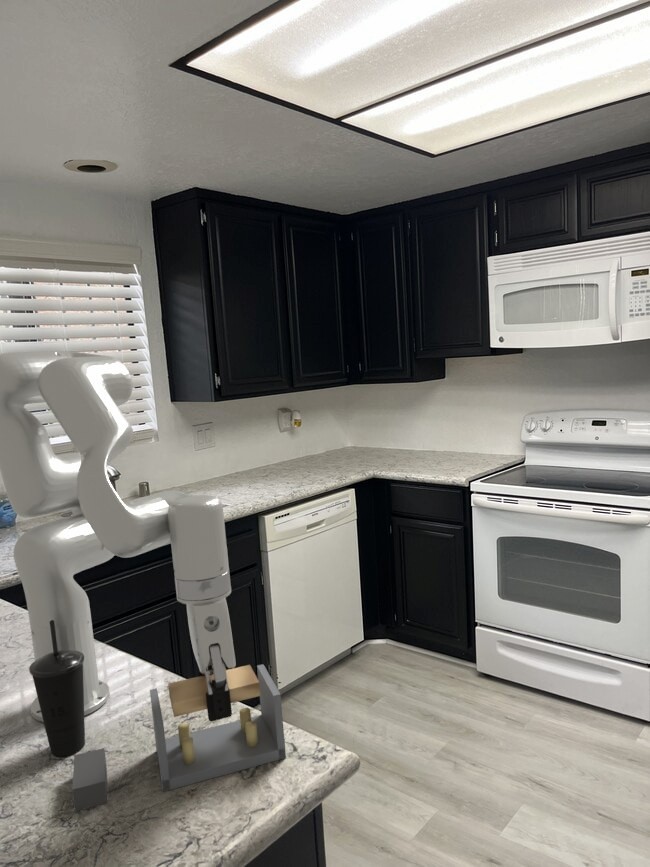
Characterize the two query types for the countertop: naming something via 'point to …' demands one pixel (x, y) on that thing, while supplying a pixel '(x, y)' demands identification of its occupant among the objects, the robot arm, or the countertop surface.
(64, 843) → the countertop surface
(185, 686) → the shelf board
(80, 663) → the drinking cup
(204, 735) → the cabinet stand
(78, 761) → the block
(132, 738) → the countertop surface
